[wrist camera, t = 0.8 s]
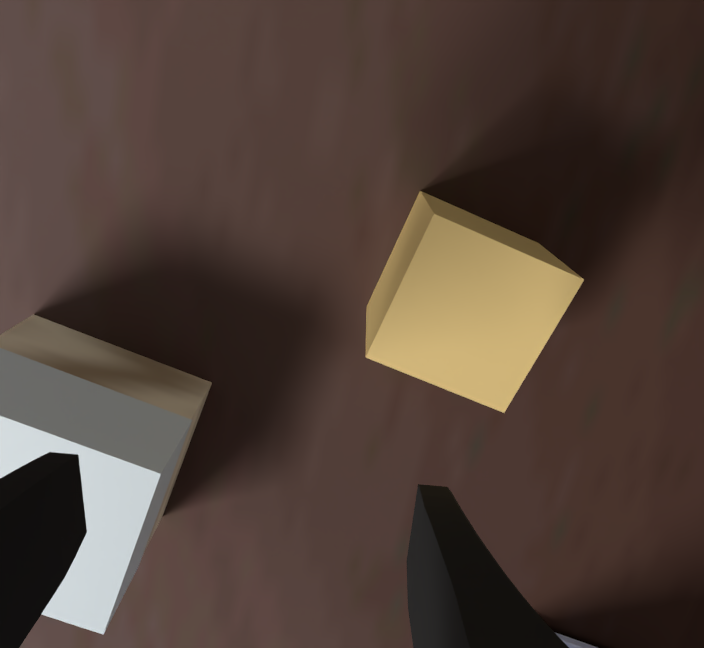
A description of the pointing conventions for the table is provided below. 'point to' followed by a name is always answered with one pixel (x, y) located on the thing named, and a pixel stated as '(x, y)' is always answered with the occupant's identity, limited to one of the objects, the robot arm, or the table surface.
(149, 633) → the table surface
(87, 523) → the grey-blue slab
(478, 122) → the table surface
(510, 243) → the mustard cube
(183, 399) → the birch slab
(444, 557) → the robot arm
